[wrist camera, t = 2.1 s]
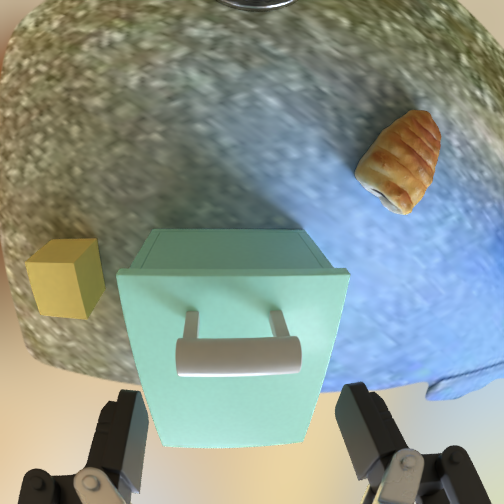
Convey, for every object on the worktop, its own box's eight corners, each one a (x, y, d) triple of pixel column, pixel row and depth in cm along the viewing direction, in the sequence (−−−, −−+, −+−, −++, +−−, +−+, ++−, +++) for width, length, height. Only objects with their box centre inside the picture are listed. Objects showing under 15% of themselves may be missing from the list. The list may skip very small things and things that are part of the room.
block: (51, 238, 23) (24, 261, 18) (97, 238, 23) (73, 262, 19) (62, 286, 25) (40, 315, 20) (105, 288, 25) (87, 319, 21)
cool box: (152, 228, 23) (121, 280, 15) (304, 229, 25) (343, 279, 17) (171, 373, 30) (163, 439, 22) (284, 371, 31) (301, 435, 23)
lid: (119, 267, 15) (86, 321, 10) (345, 267, 16) (386, 317, 12) (163, 439, 22) (159, 485, 17) (301, 435, 23) (313, 479, 19)
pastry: (397, 92, 21) (423, 90, 17) (442, 139, 23) (468, 144, 19) (344, 176, 23) (365, 185, 20) (395, 217, 25) (418, 231, 22)
